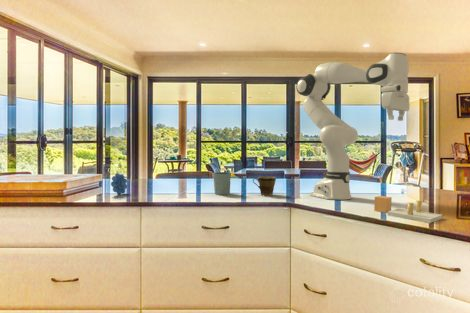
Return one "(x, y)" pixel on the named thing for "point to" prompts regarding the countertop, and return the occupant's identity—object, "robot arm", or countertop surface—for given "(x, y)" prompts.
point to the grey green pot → (222, 183)
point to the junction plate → (415, 213)
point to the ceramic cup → (266, 185)
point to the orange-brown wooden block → (382, 204)
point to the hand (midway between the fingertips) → (395, 120)
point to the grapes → (119, 183)
